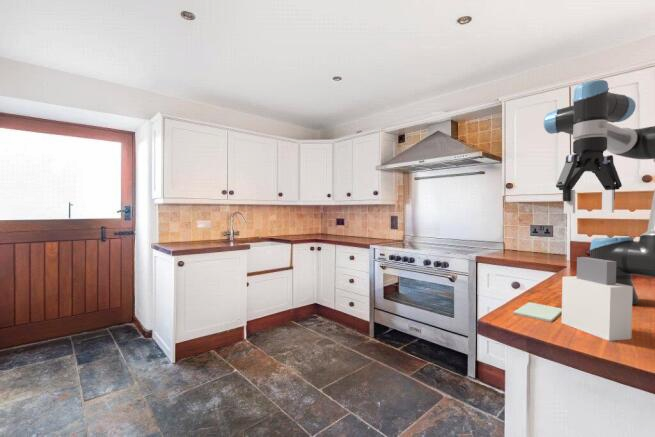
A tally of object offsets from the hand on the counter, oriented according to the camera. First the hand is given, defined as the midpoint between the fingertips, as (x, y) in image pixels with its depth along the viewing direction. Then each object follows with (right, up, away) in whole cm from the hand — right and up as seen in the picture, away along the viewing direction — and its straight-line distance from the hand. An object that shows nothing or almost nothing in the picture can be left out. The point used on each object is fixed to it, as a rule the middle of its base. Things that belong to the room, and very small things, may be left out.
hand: (588, 212), depth 90 cm
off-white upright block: (-2, -32, -4) cm, 33 cm away
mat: (-7, -32, +11) cm, 34 cm away
